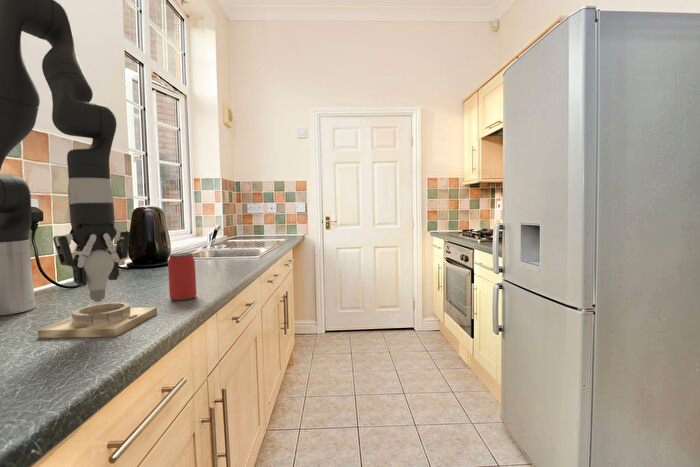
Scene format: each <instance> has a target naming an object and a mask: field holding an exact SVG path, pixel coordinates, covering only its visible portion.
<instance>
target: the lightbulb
mask: <svg viewBox="0 0 700 467" xmlns="http://www.w3.org/2000/svg"><path fill="white" fill-rule="evenodd" d="M113 267H114V260H113V257H112V256H111V255H110V254H109V253H108V252H107V251H104V250H99V249H98V250H95V251H91V252H90V254H89V256H88V257H87V258H86V259H85V262H84V266H83V267H82V268H84V270H85V272H86V281H87V289H88V291H89V297H90V298H89V299H90V300H92V301H94V302H95V303H99V302H101V301H102V300H104V299H105V298H106V289H107V284H108V280H109V279H108V277H109V275H110V273H111V271H112V269H113Z"/></svg>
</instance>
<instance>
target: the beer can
mask: <svg viewBox="0 0 700 467" xmlns="http://www.w3.org/2000/svg"><path fill="white" fill-rule="evenodd" d="M167 271H168V273H167V274H168V289H169V299H171V300H172V301H176V302H177V301H178V302H179V301H180V302H182V301H188V300H192V299H194V298H196V297H197V280H196V261H195V258H194V256H193V253H192V252H179V253H178V252H177V253H172V254H170V255H169V258H168V261H167Z"/></svg>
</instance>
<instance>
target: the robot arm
mask: <svg viewBox="0 0 700 467" xmlns="http://www.w3.org/2000/svg"><path fill="white" fill-rule="evenodd" d="M67 13H68V12H67V11H66V10H65V8H64V6H63V5H62V4H61V3H59V2H58V1H57V0H0V171H1V170H2V166H3V164H4V162H5V159H6V157H8V155H9V154H10V153H11V152H12V150H13V149H14V148H15V147H16V146H18V145H19V144H20V143H21V142H22V141H23V140H25V138H26V137H27V136H28V135H30V133H31V132H32V130H33V129H34V127H35V125H36V122H37V118H38V117H37V116H38V114H39V113H38V112H39V109H40V105H41V104H40V103H41V98H40V93H39V90H38V88H37V86H36V84H35V82H34V79H33V77H32V75H31V73H30V71H29V69H28V67H27V65H26V62H25V59H24V56H23V52H22V33H23V32H24V33H26V34H27V35H31V36H33V37H36V38H38V39H41V40H43V41H47V43H49V45H50V46H51V48H50V49H49V50H48V51H47V52H46V53H45V54H44V57H43V58H42V63H41V70H42V73H43V77H44V79H45V81H46V83H47V85H48V88H49V90H50V92H51V98H52V99H51V100H52V112H51V120H52V124H53V126H54V127H55V128H56V129H57V130H58V131H59V132H61V133H62V134H64V135H66V136H72V137H79V138H86V139H91V140H92V142H91V144H90V146H89V147H84V148H83V147H81V148H73V149H70V150H69V151H68V152H67V155H66V164H67V174H68V184H67V186H68V187H67V196H68V208H69V220H70V222H69V223H70V226H71V228H70V229H71V230H70V231H69V233H68V234H63V235H54V236H53V237H52V240H53V244H54V246H55V250H56V253H57V256H58V260H59V262H60V265H61V266H66V267H67V266H68V267H71V268H72V274H73V276H72V278H73V282H74V283H75V284H76V286H78V287H85V286H88V284H87V281H86V272H85V270H84V268H82V267H83V266H84V262H85V259H86V258H87V257H88V256H89V254H90V252H91V251H95V250H98V249H99V250H104V251H107V252H108V253H109V254H110V255H111V256H112V257H113V260H114V267H113V269H112V271H111V273H110V275H109V277H108V279H107V280H109V281H116V280H118V277H120V268H119V267H120V265H119V263H120V261H121V260H123V259H126V258H127V257H128V254H129V245H130V237H131V233H130V231H128V230H117V229H116V228H115V225H114V224H115V222H116V220H115V206H114V195H113V194H114V193H113V187H112V182H111V169H110V156H111V152H112V151H111V150H112V148H113V142H114V139H115V134H116V130H117V118H116V115H115V114H114V111H112V109H111V108H109V107H108V106H106V105H103V104H99V103H93V102H92V99H93V96H94V95H93V89H92V87H91V84H90V83H89V81H88V78H87V76H86V74H85V72H84V70H83V68H82V66H81V62H80V61H79V57H78V54H77V49H76V44H75V38H74V35H73V30H72V26H71V22H70V19H69V16H68V14H67ZM31 197H32V196H31V190H30V187H29V184H28V183H27V181H26V180H25V179H24V178H22V177H21V176H19V175H14V174H13V175H12V174H4V173H3V174H1V173H0V316H8V315H13V314H17V313H23V312H28V311H30V310H33V309H35V308H36V303H35V290H34V280H33V278H34V277H33V269H32V266H33V265H32V256H31V245H30V231H31V229H32V198H31ZM114 239H115V240H116V245H114V243H113V240H114ZM72 241H73V242H74V244H76V245H75V248H74V250H73V254H72V251H71V247H70V245H71V244H72ZM115 246H116V247H115Z"/></svg>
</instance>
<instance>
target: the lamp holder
mask: <svg viewBox="0 0 700 467" xmlns="http://www.w3.org/2000/svg"><path fill="white" fill-rule="evenodd" d="M157 314H158V308H157V307H156V306H154V307H131V304H130V303H129V302H125V301H123V302H122V301H119V302H117V301H115V302H103V303H102V302H101V303H95V304H91V305H87V306H83V307H80V308H78V309H75V310H73V311H72V313H71V316H70V317H68V318H65V319H63V320H60V321H58V322H55V323H53V324H50V325H47V326H45V327H42V328H40V329H38V330H37V338H38V339H46V338H48V339H49V338H50V339H51V338H53V339H54V338H55V339H57V338H60V339H61V338H94V337H95V338H97V337H98V338H102V337H103V338H104V337H105V338H106V337H108V338H110V337H111V338H112V337H113V338H115V337H118V336H119V335H121V334H124V333H125V332H127V331H128V330H130V329H133V328H134V327H136V326H137V325H140V324H141V323H143V322H145V321H147V320H149V319H150V318H152V317H154V316H157Z"/></svg>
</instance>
